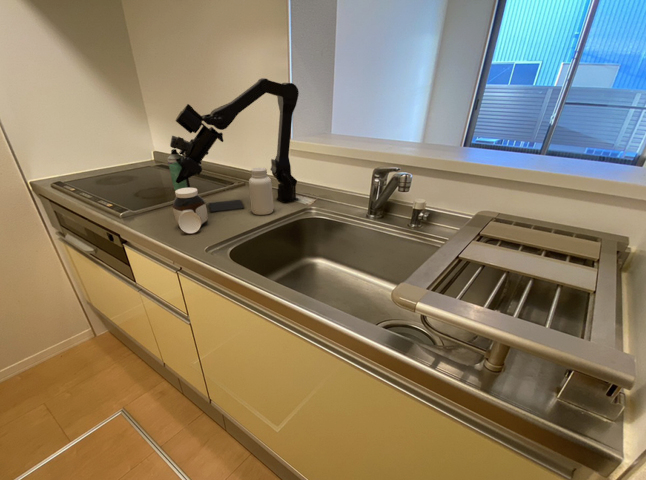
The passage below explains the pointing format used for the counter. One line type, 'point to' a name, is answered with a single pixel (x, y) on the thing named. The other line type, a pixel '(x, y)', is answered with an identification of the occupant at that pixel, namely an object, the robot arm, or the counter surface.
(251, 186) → the pill bottle
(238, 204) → the mat
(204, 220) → the spread jar
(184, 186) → the spray can
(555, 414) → the counter surface
